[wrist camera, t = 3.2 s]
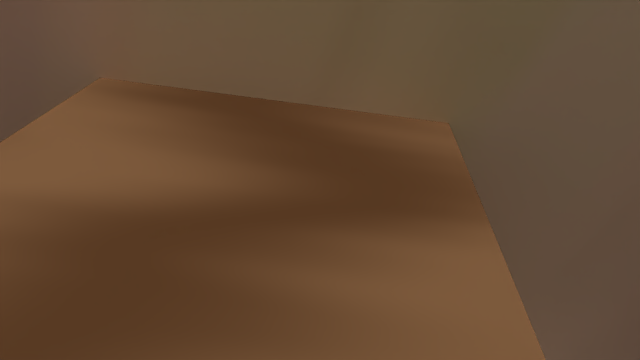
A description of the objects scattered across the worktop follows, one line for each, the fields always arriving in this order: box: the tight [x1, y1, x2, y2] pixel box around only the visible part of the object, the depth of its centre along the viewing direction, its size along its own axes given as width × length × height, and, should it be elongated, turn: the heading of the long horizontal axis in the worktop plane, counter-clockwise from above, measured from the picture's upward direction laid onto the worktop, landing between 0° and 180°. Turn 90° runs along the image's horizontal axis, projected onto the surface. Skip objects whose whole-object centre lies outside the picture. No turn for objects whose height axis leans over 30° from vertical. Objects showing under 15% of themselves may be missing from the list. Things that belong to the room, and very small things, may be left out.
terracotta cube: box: [0, 78, 546, 360], centre depth 7 cm, size 6×6×6 cm
